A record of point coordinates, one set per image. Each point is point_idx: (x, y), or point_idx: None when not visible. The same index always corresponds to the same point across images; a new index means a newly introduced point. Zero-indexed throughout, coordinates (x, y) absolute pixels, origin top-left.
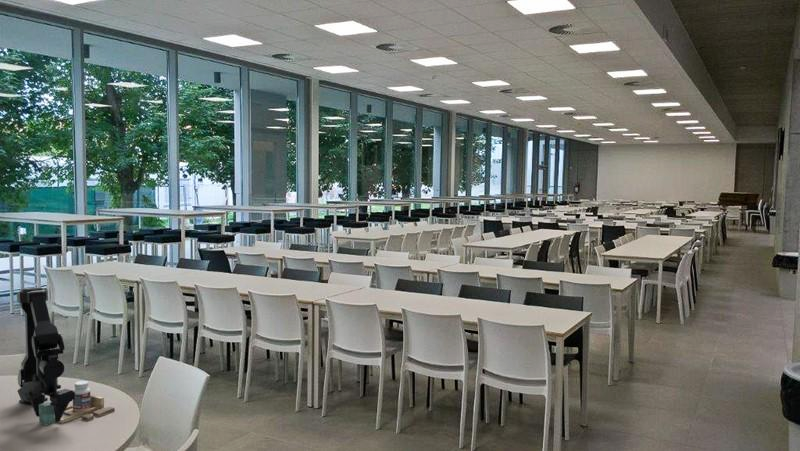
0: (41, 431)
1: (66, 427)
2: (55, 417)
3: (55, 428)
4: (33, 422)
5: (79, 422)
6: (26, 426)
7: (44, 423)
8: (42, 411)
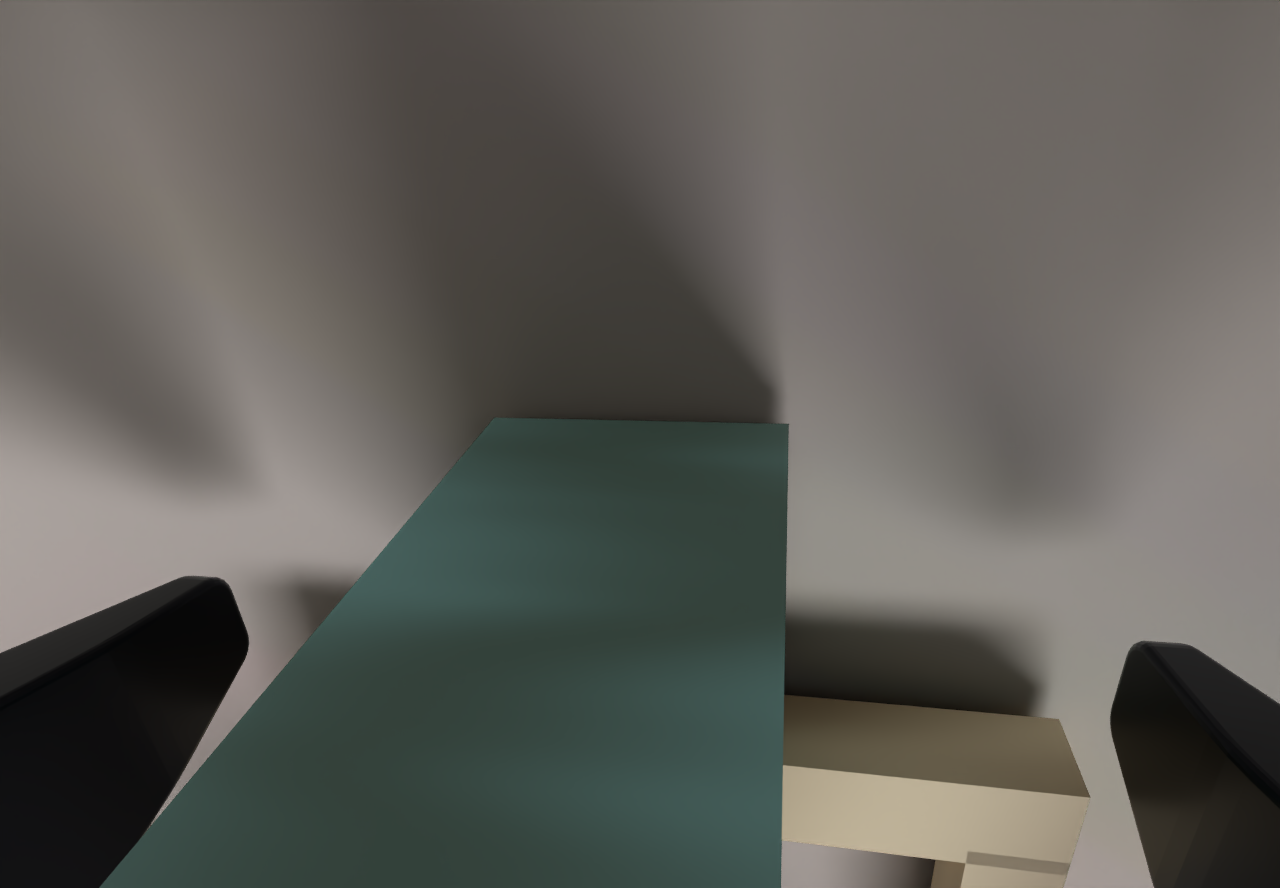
0: (158, 79)
1: (66, 551)
2: (49, 653)
3: (149, 414)
4: (1095, 417)
5: (181, 783)
6: (1014, 54)
7: (523, 437)
8: (453, 752)
